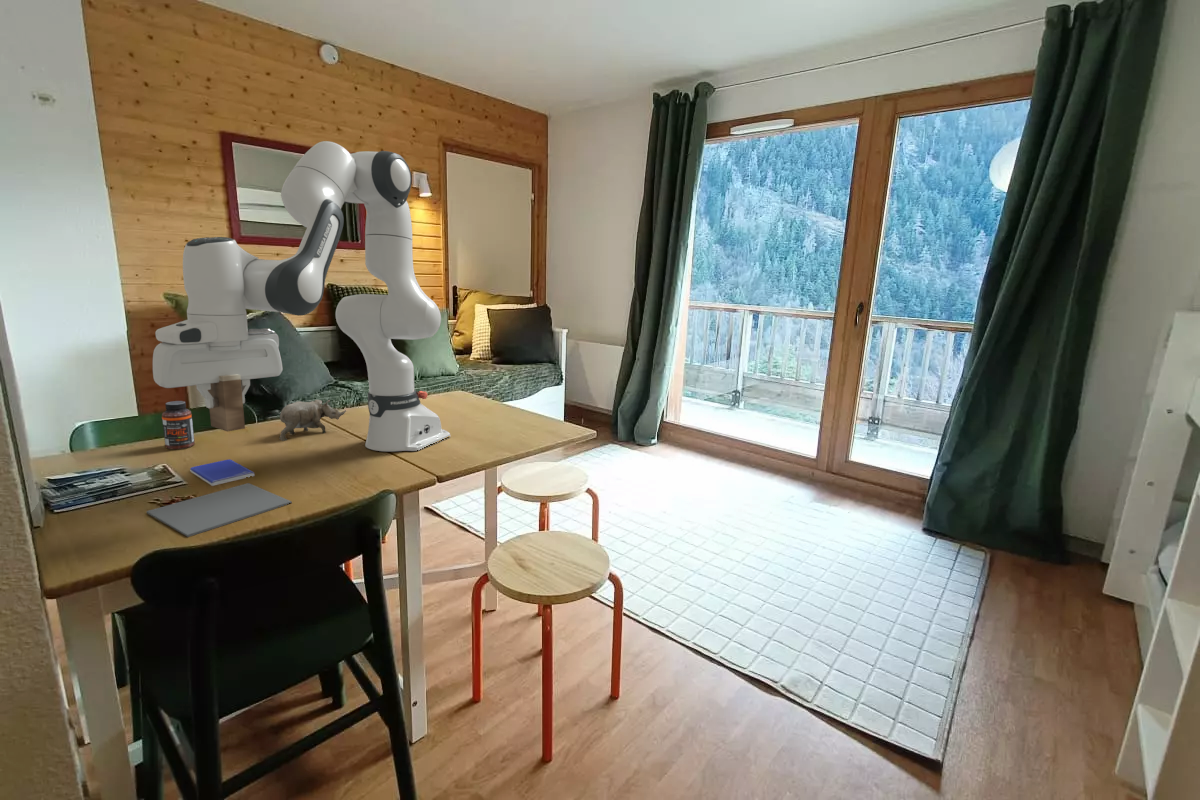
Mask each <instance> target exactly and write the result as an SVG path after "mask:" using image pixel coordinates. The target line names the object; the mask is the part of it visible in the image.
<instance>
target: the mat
mask: <svg viewBox="0 0 1200 800" xmlns="http://www.w3.org/2000/svg"><path fill="white" fill-rule="evenodd" d="M289 503H291V504H292V500H289V499H287V498H284V497H282V496H280V495H277V494H276V493H272V492H270V491H268V490H267V489H266V490H265V489H263V488H260V487H259V486H257V485H254V484H252V483H249V482H247V483H244V484H240V485H239V484H238V485H236V486H232V487H229V488H226V489H220V490H217V491H214V492H210V493H208V494H207V493H206V494H203V495H200V496H197V497H193V498H189V499H186V500H183V501H178V502H175V503H172V504H167V505H165V506H161V507H157V508H152V509H149V510H146V514H147V515H149V516H150V517H152V518H155V519H156V520H157V521H160V522H161V523H163V524H165V525H166V526H168V527H169V528H171V529H173V530H175V531H176V532H178V533H179V534H182V535H184V536H185V537H186V538H191V537H192V536H195V535H198V534H201V533H205V532H208V531H210V530H211V531H212V530H214V529H217V528H220V527H223V526H226V525H229V524H233V523H235V522H239V521H241V520H244V519H247V518H252V517H254V516H256V515H259V514H263V513H267V512H270V511H273V510H275V509H278V507H279V508H281V506H282V507H285V506H288V505H290V504H289ZM287 504H288V505H287ZM284 505H285V506H284Z"/></svg>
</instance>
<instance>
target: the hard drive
mask: <svg viewBox="0 0 1200 800" xmlns="http://www.w3.org/2000/svg"><path fill="white" fill-rule="evenodd" d="M189 471H190V473H192V474H193V475H195V476H196V477H198V478H199V479H201V480H202V481H204V482H206V483H207V484H209V485H210V486H211V487H214V486H218V485H221V484H226V483H230V482H233V481H234V482H235V481H239V480H243V479H247V478H246V477H248V478H250V476H252V477H255V472H254V471H252V470H250V469H249V468H247V467H246V466H243V465H242V464H240V463H237V462H236V461H234V460H233V459H224V460H219V461H215V462H210V463H205V464H201V465H195V466H192V467H190V468H189Z"/></svg>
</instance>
